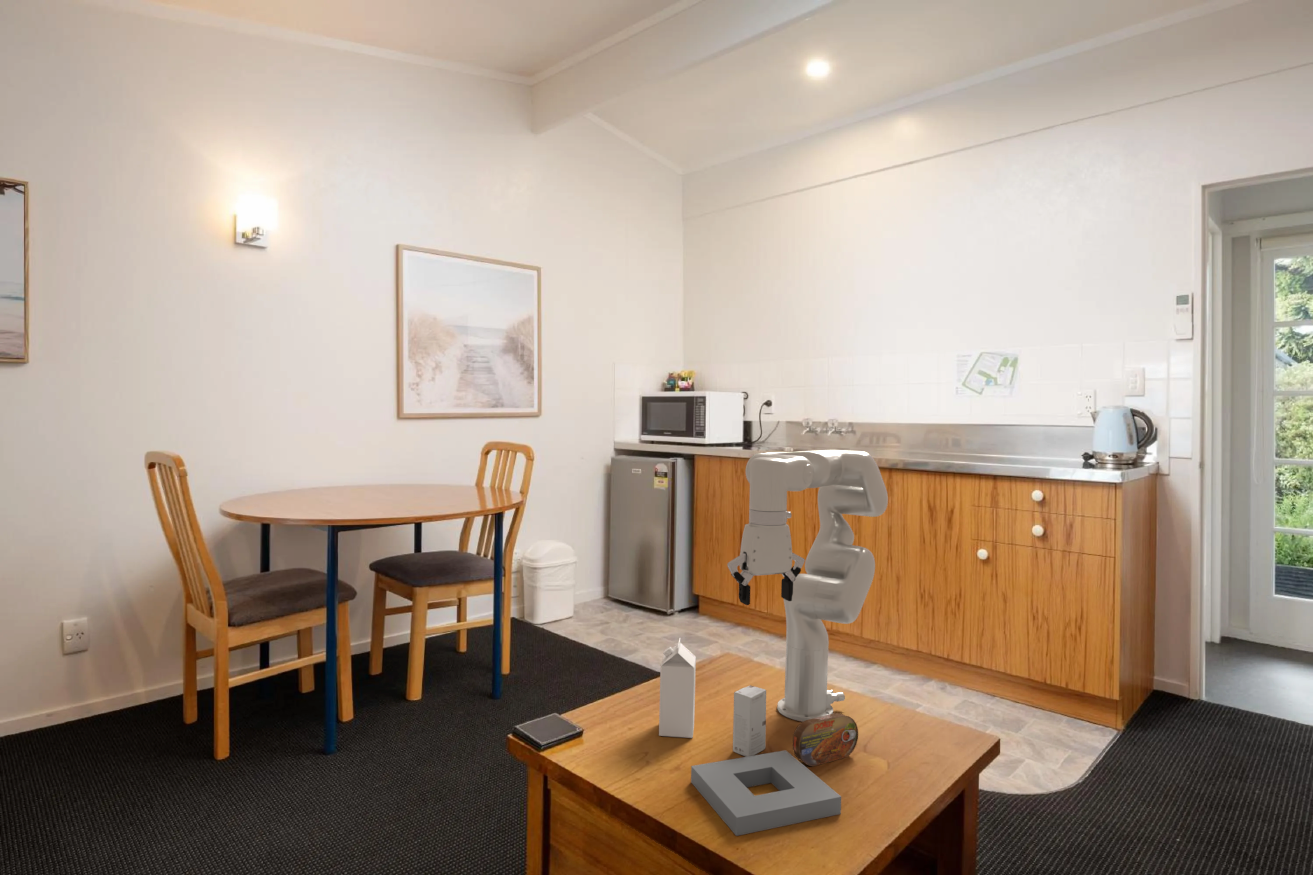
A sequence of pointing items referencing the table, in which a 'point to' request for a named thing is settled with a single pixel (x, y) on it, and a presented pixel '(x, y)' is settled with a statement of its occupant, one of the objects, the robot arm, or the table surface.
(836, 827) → the table surface
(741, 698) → the skincare box
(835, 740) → the tin
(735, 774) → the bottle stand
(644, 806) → the table surface
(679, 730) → the milk carton
